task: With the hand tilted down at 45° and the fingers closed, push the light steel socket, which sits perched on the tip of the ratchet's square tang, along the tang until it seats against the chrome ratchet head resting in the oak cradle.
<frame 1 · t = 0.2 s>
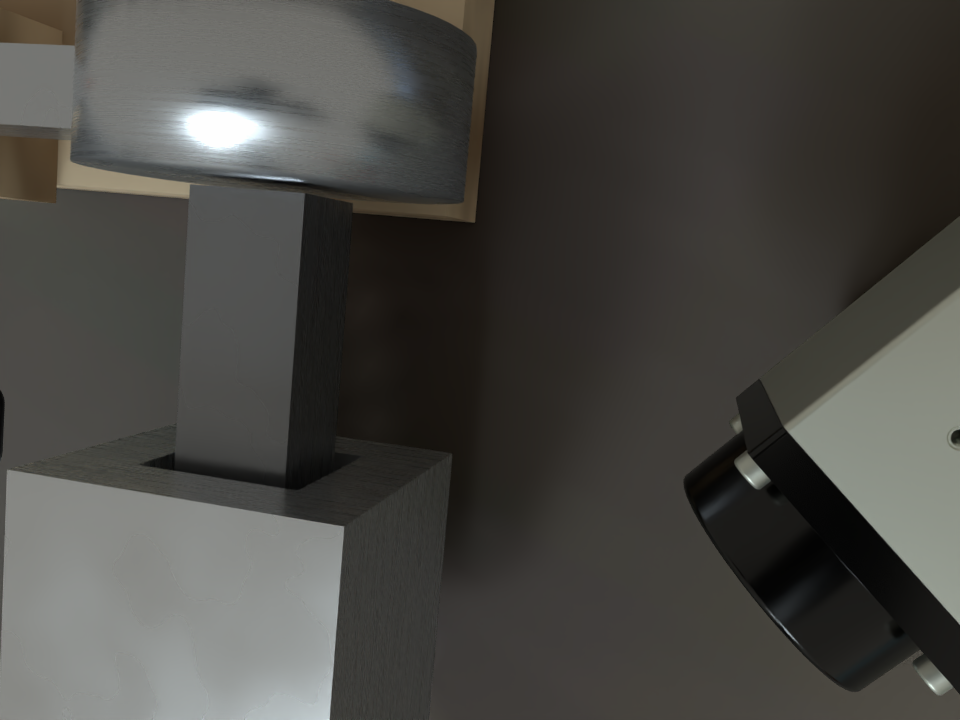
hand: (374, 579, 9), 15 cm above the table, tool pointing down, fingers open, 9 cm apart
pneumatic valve: (954, 340, 22), on the table
oak cradle: (385, 215, 25), on the table
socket: (246, 638, 20), point 7 cm above the table, slide at 5.5 cm
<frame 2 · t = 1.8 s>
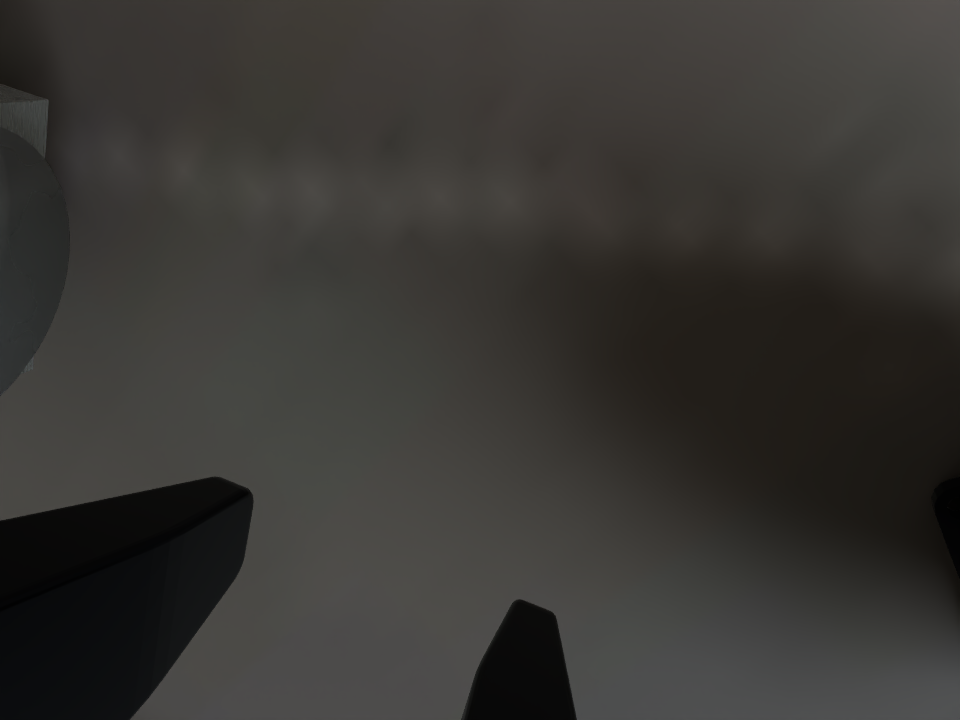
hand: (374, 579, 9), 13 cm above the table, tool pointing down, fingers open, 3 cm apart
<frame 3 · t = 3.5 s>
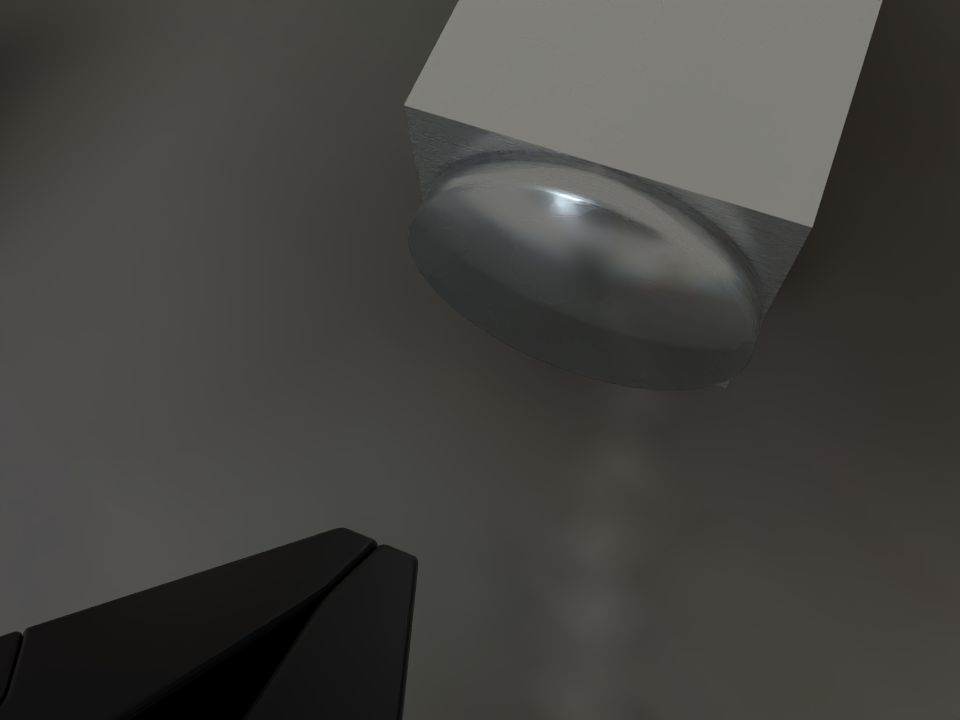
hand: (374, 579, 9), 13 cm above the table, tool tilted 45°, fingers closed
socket: (639, 137, 18), point 6 cm above the table, slide at 5.5 cm
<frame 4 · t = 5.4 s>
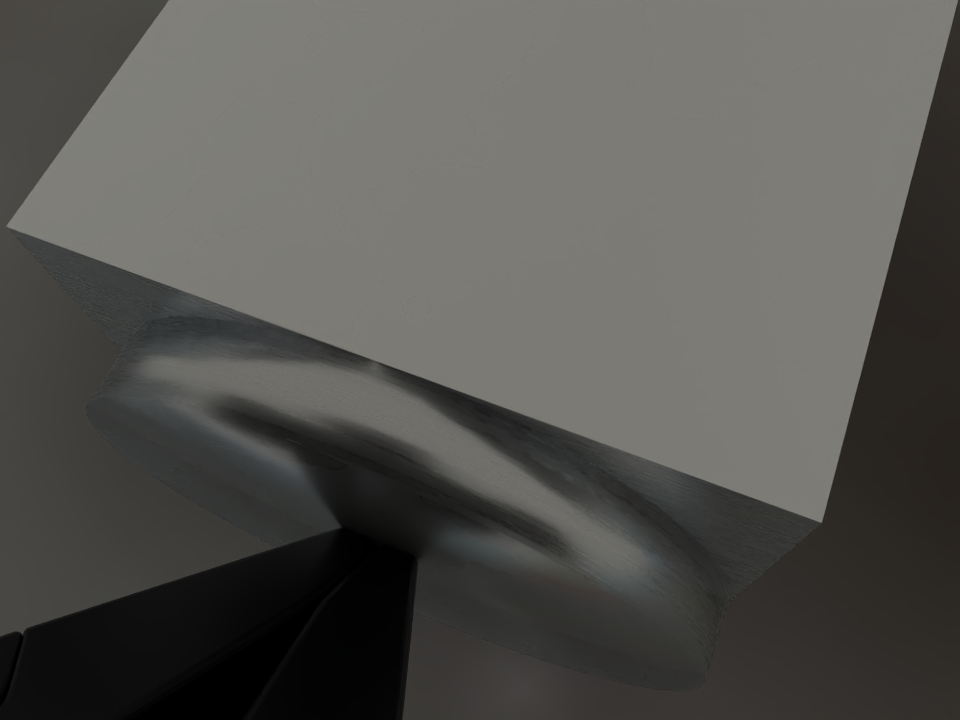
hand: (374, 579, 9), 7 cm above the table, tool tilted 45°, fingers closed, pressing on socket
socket: (524, 256, 11), point 6 cm above the table, slide at 4.1 cm, touching gripper
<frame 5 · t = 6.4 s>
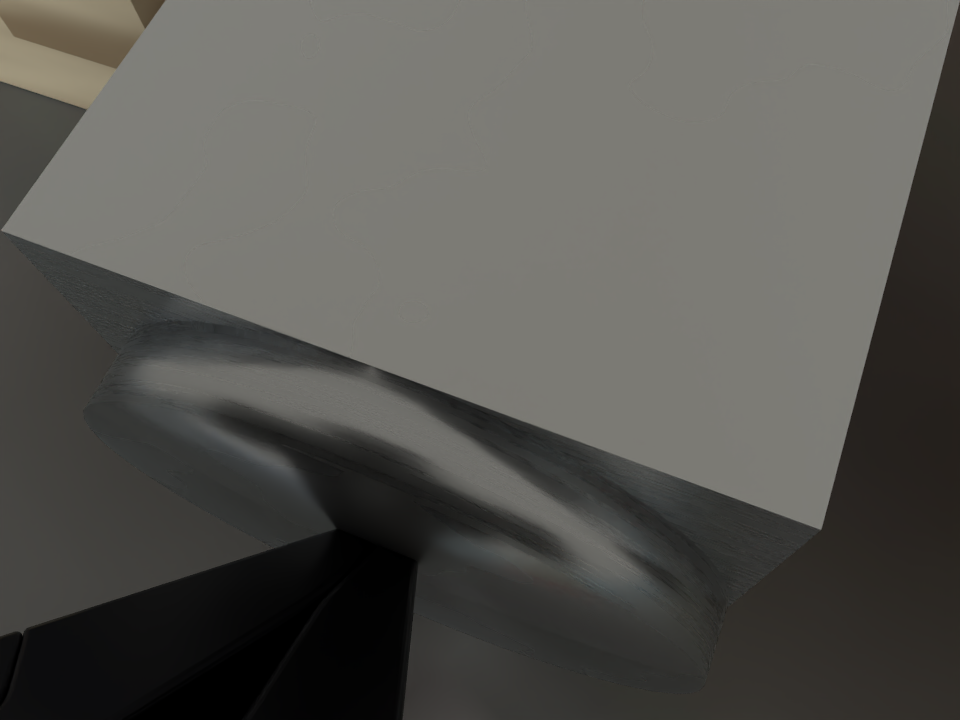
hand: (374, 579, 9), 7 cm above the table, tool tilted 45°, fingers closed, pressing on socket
oak cradle: (590, 274, 18), on the table
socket: (523, 256, 11), point 7 cm above the table, slide at -0.2 cm, touching gripper
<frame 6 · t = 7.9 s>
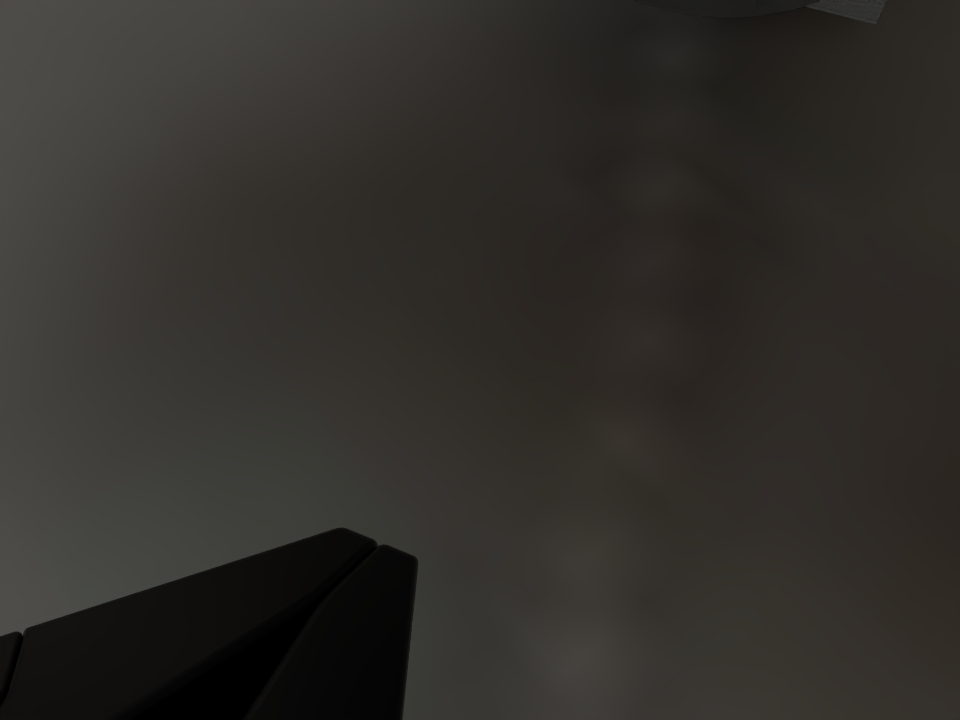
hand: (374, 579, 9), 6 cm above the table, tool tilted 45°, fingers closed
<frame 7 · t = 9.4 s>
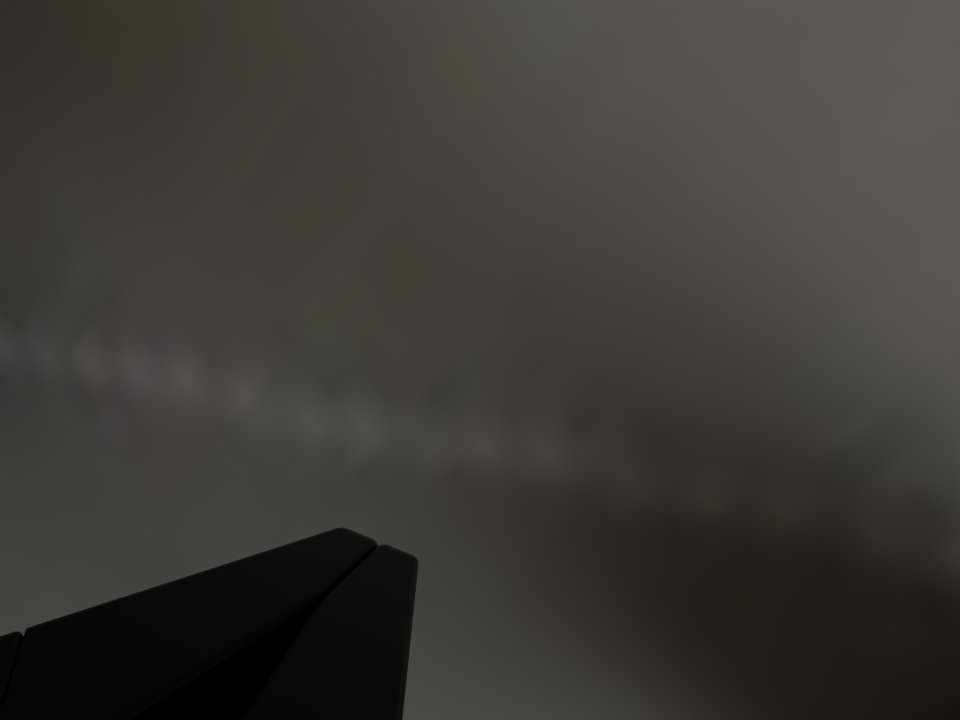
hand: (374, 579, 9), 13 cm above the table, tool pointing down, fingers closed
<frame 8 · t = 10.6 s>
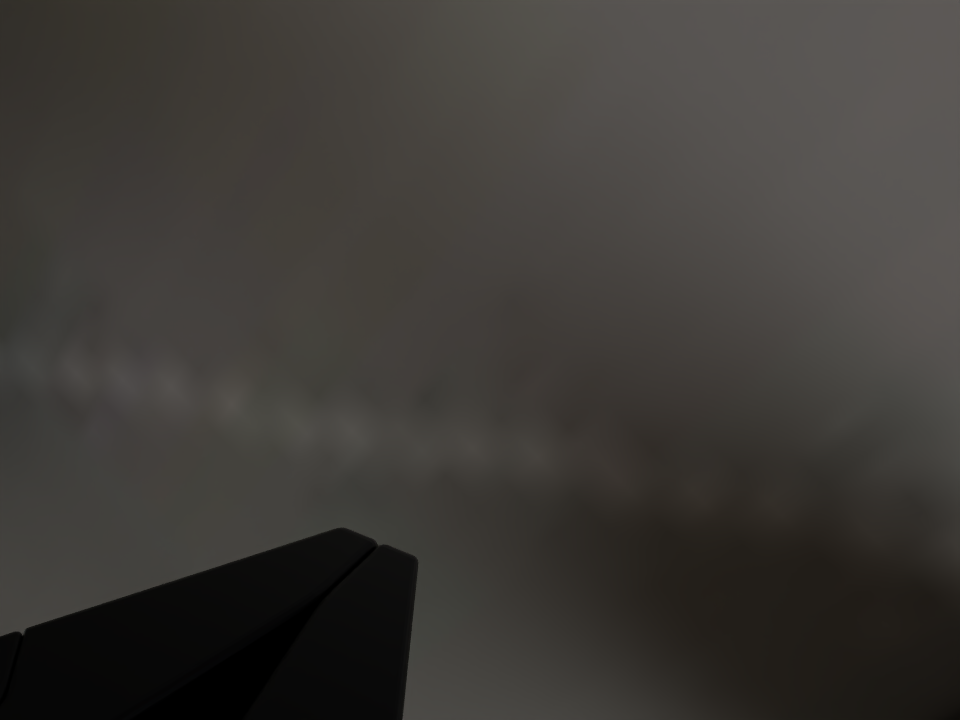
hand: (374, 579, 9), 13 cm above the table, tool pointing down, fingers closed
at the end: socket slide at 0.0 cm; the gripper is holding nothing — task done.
